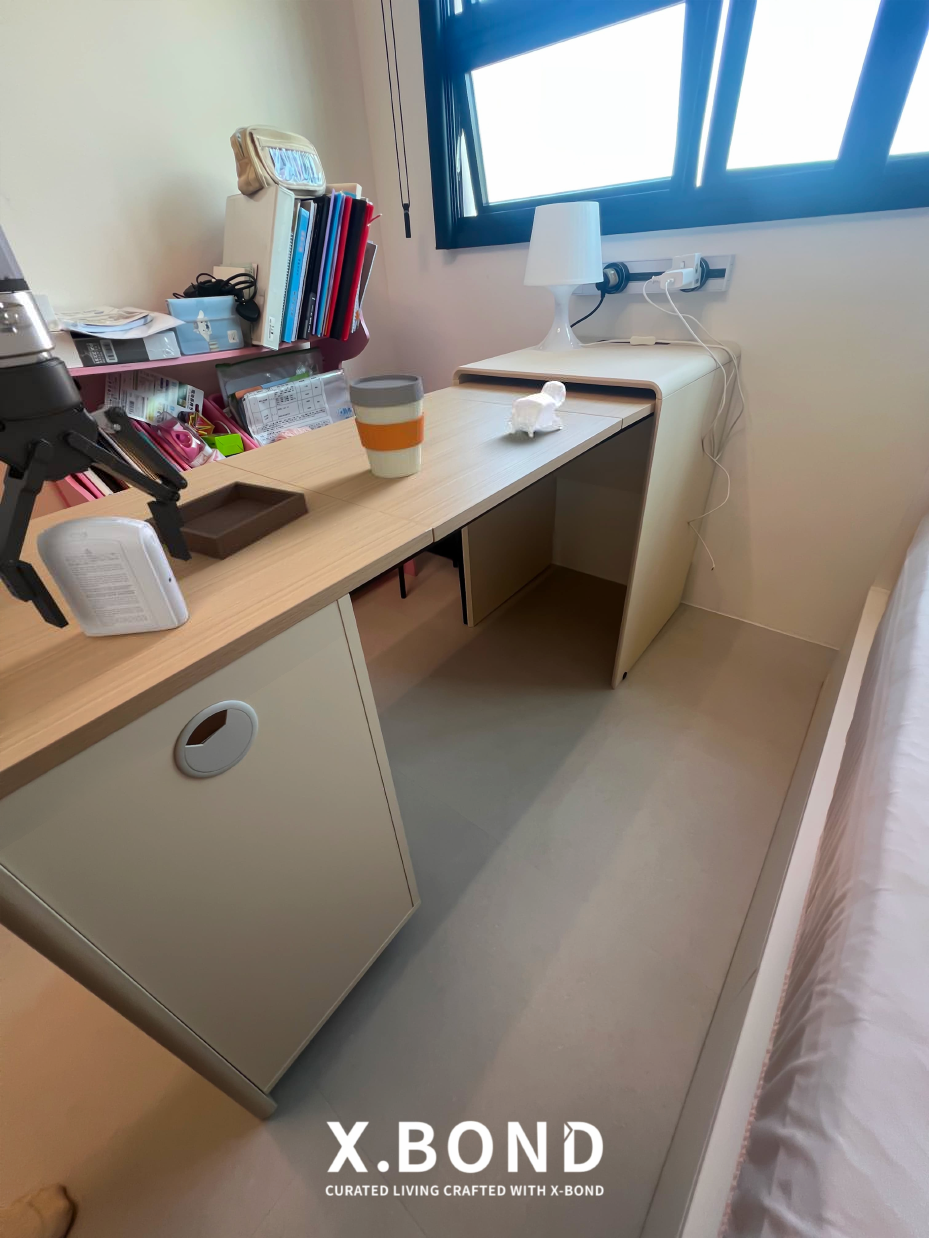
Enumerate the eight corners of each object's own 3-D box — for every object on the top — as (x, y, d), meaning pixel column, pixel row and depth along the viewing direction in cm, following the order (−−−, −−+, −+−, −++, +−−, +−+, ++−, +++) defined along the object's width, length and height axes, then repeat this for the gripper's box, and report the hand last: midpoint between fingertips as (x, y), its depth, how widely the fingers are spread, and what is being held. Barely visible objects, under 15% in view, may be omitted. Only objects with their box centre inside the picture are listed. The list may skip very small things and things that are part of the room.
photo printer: (195, 608, 57) (151, 505, 50) (183, 631, 54) (134, 523, 46) (99, 618, 56) (41, 515, 49) (81, 642, 53) (15, 534, 45)
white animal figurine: (540, 451, 107) (579, 410, 112) (532, 415, 101) (574, 374, 106) (509, 444, 112) (547, 405, 117) (500, 410, 106) (541, 370, 111)
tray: (222, 560, 66) (214, 538, 65) (151, 540, 72) (143, 520, 70) (308, 512, 78) (304, 493, 76) (242, 499, 84) (236, 480, 82)
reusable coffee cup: (409, 454, 100) (400, 371, 91) (443, 470, 91) (436, 380, 83) (350, 468, 94) (335, 381, 86) (380, 487, 86) (367, 392, 77)
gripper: (-198, 400, 30) (12, 670, 42) (173, 337, 47) (243, 541, 60) (-239, 393, 33) (-32, 647, 45) (124, 336, 50) (200, 531, 63)
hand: (125, 587), depth 52 cm, fingers open, 13 cm apart
